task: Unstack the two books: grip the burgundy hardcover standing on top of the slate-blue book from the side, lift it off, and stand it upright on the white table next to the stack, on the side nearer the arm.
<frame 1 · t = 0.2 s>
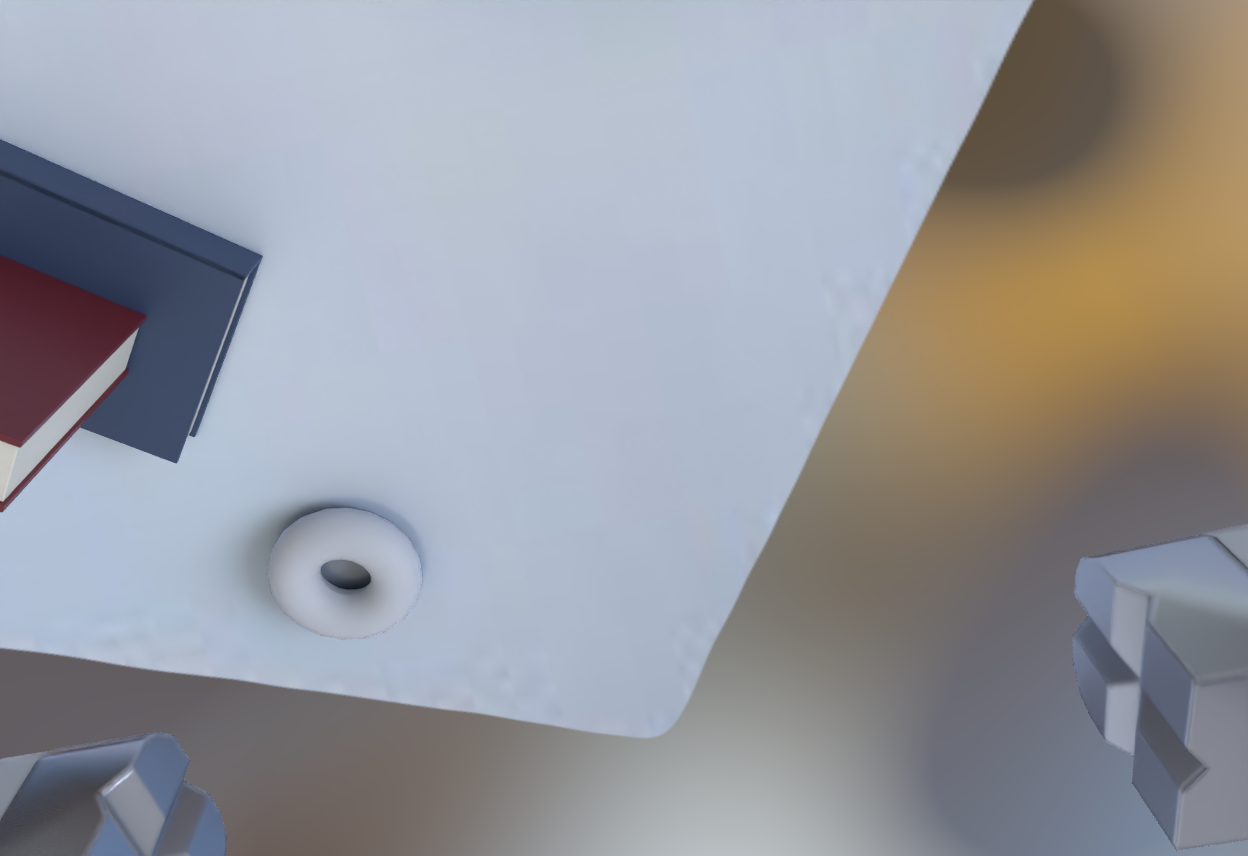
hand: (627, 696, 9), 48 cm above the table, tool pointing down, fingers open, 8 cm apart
burgundy book: (43, 307, 53), point 3 cm above the table, touching slate book
slate book: (71, 284, 56), on the table, touching burgundy book
donut: (351, 558, 66), on the table
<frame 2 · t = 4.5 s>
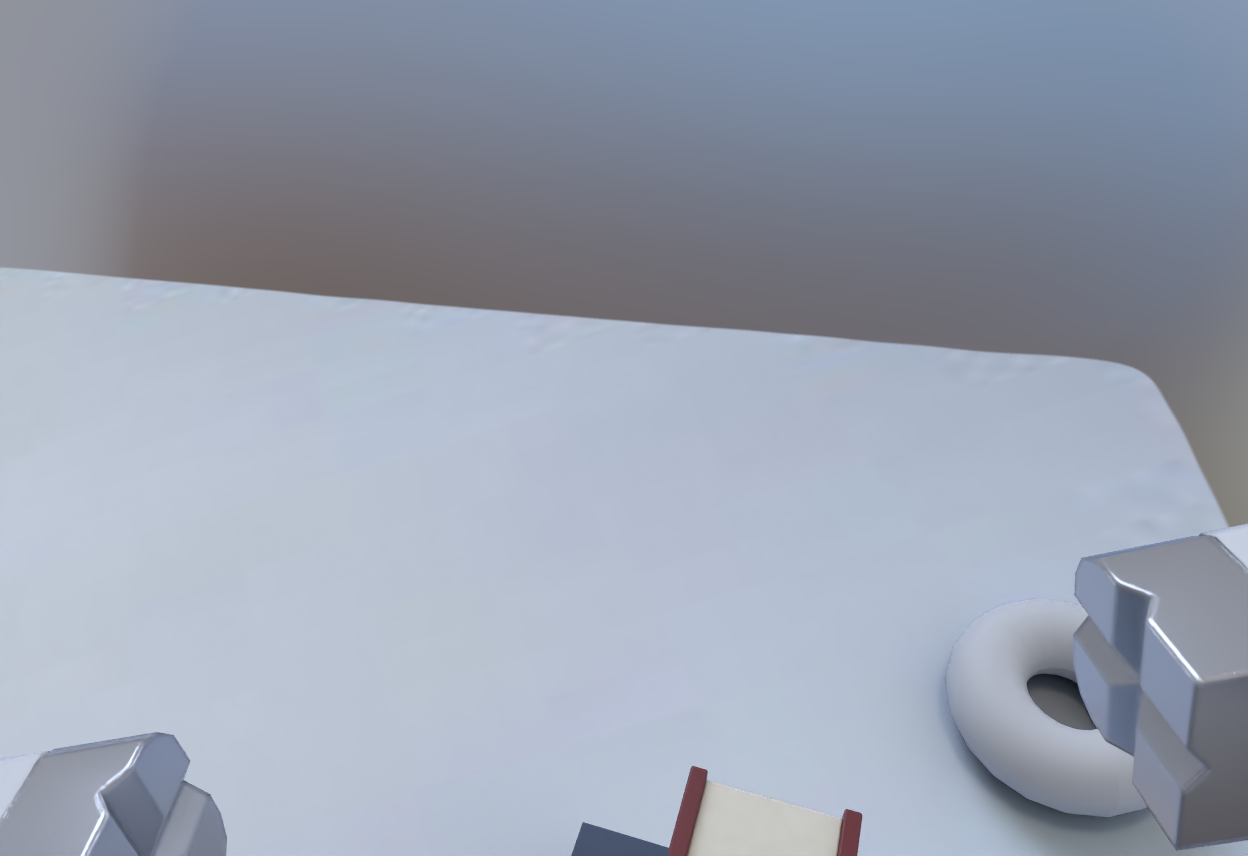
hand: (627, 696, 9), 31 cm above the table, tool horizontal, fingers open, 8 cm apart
donut: (1052, 723, 43), on the table
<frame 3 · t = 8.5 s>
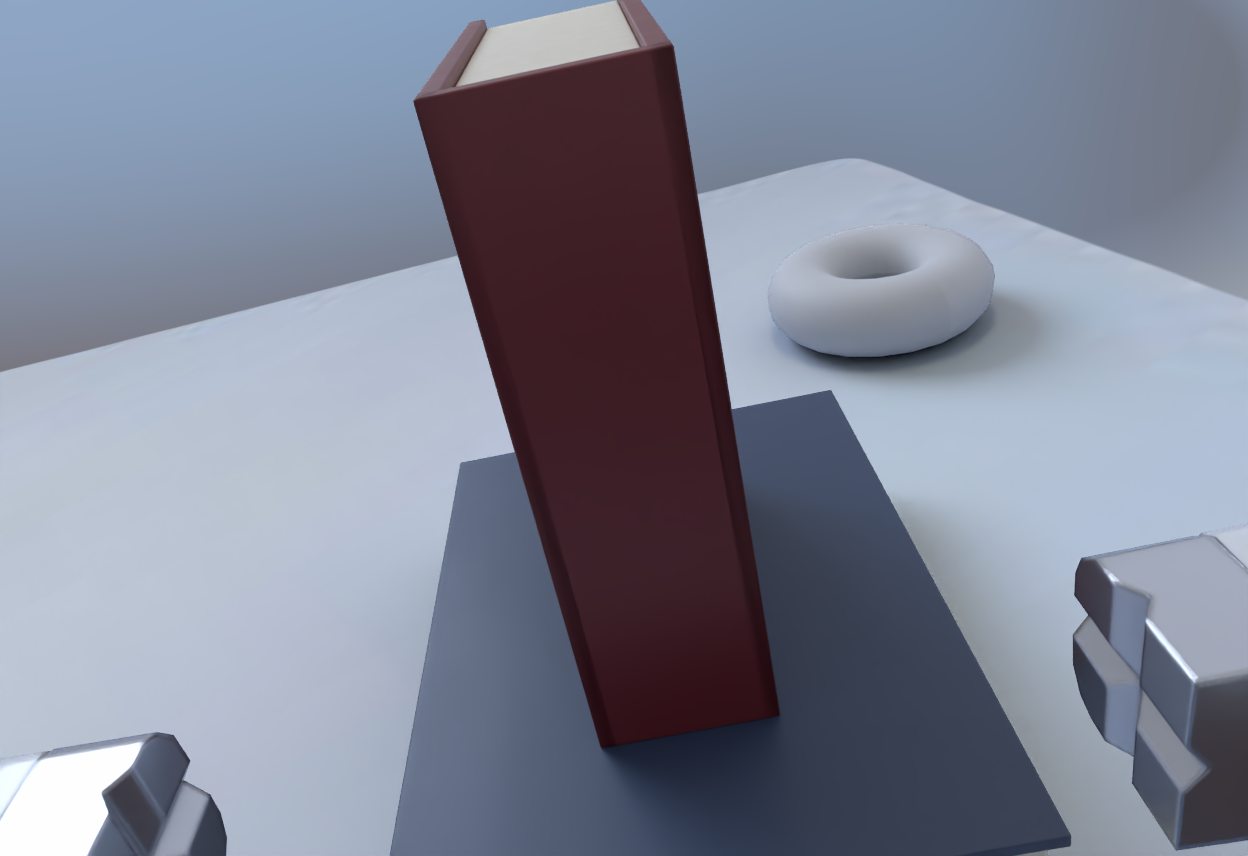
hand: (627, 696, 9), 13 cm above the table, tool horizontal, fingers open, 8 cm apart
burgundy book: (668, 589, 26), point 3 cm above the table, touching slate book
slate book: (689, 686, 27), on the table, touching burgundy book
donut: (880, 324, 45), on the table
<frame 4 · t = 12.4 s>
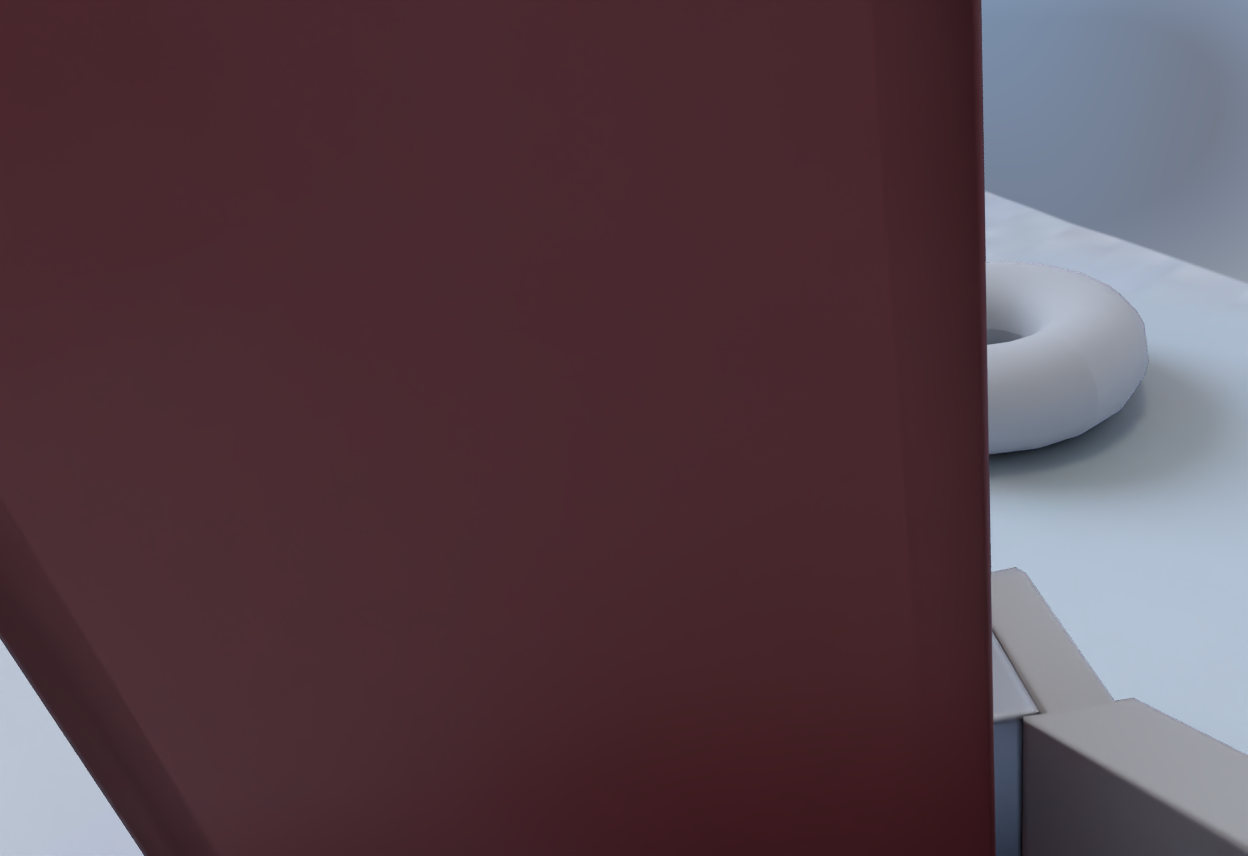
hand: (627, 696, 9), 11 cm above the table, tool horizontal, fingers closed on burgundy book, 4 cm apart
donut: (980, 399, 33), on the table
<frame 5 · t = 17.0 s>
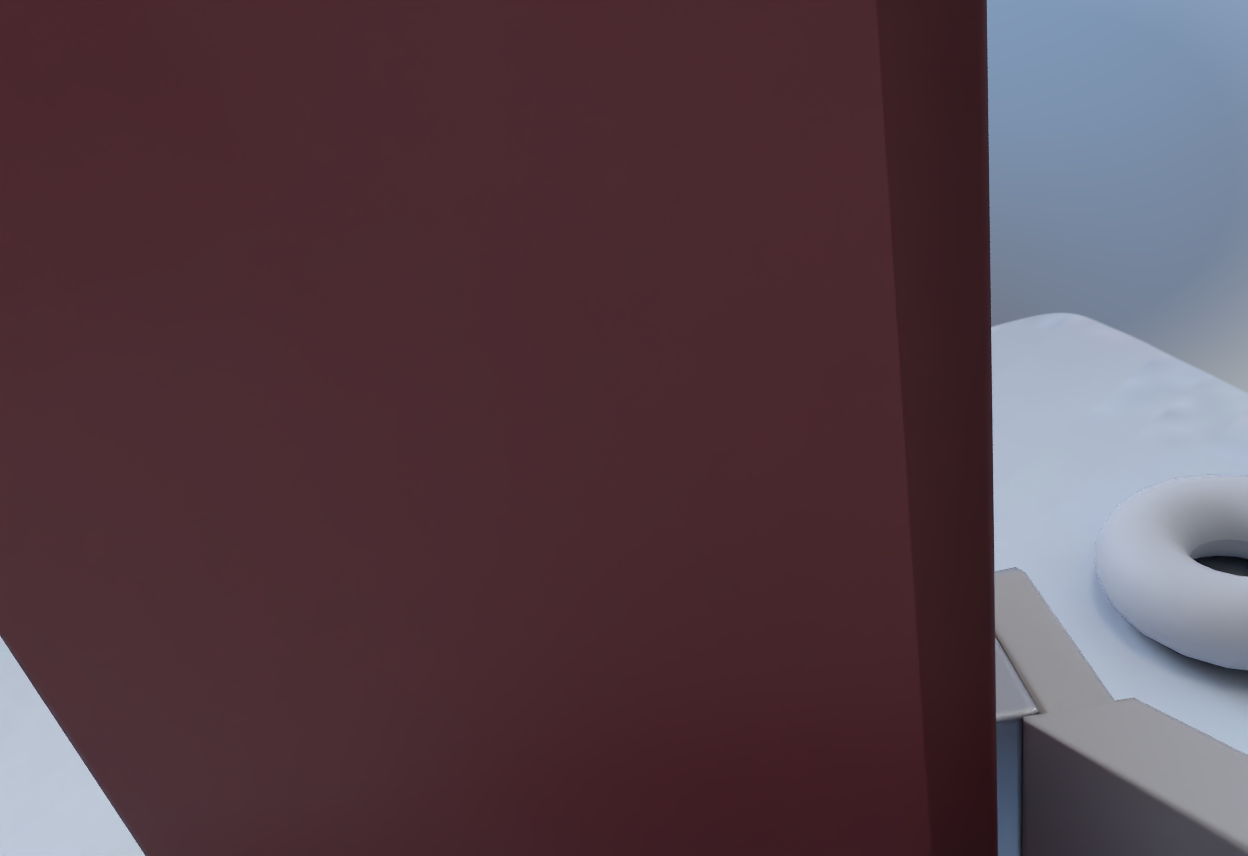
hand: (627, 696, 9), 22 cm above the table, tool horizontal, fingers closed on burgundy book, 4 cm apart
donut: (1233, 603, 38), on the table
when the fingers open (7 cm above the table, at t = 21.8 s): burgundy book stays where it is, on the table.
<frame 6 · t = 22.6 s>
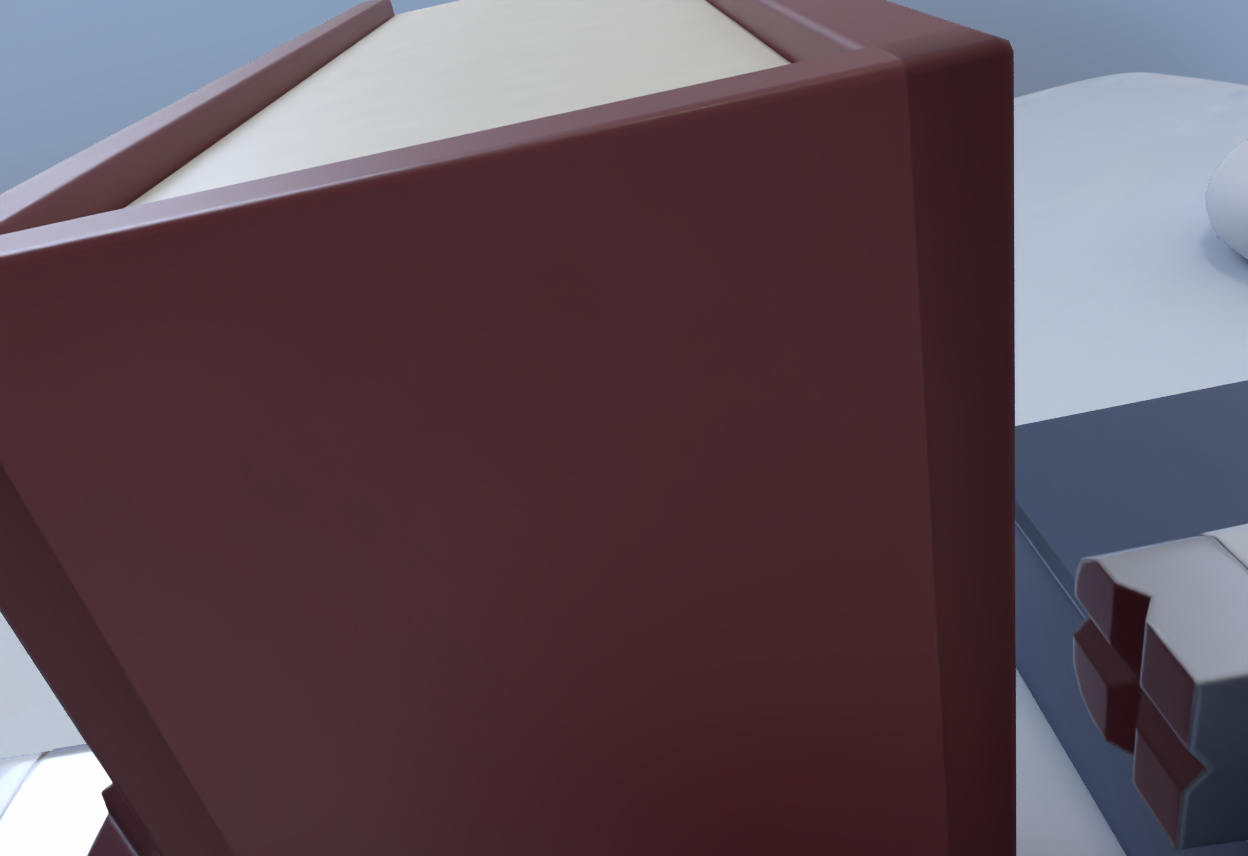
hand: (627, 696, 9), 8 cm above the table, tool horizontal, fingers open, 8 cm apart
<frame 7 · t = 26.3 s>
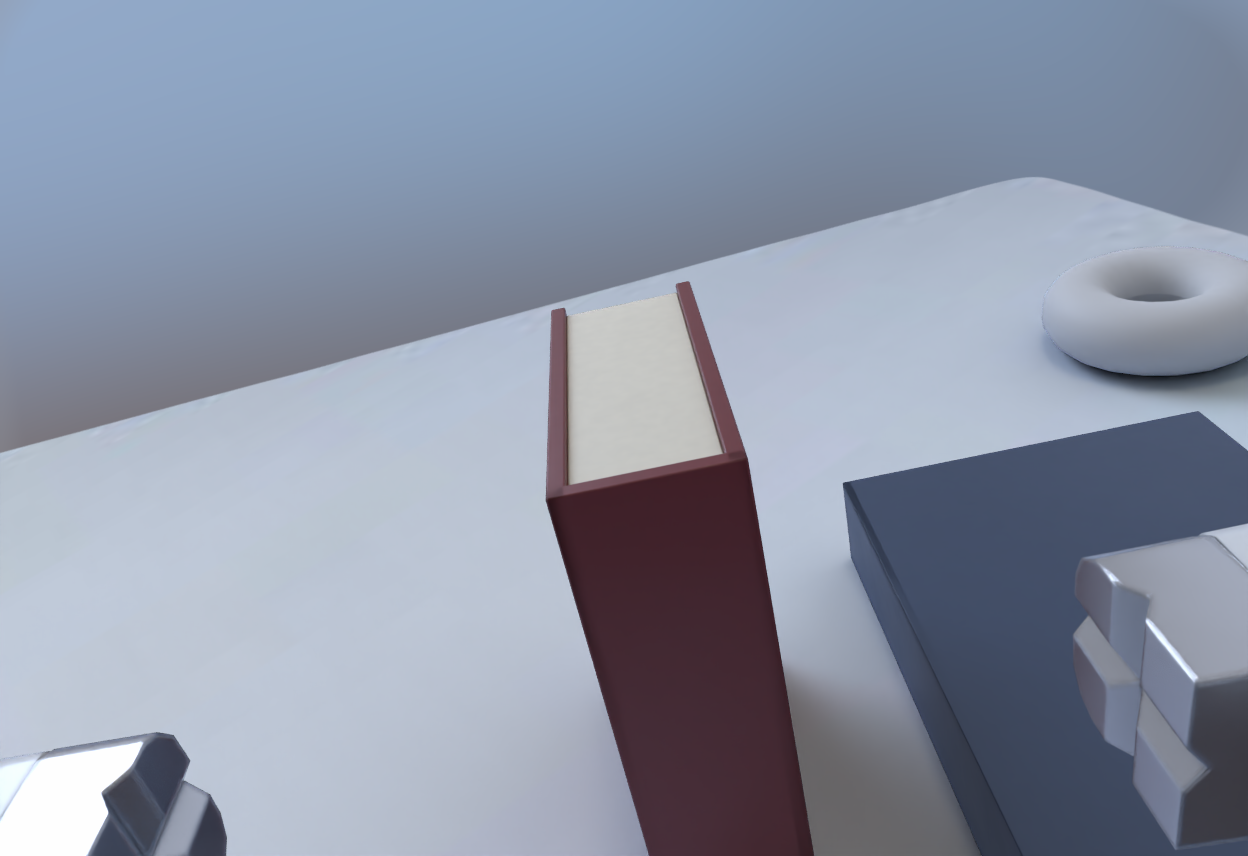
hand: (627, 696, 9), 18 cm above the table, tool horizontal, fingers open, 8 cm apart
burgundy book: (720, 774, 30), on the table
slate book: (1142, 692, 29), on the table
donut: (1153, 343, 47), on the table
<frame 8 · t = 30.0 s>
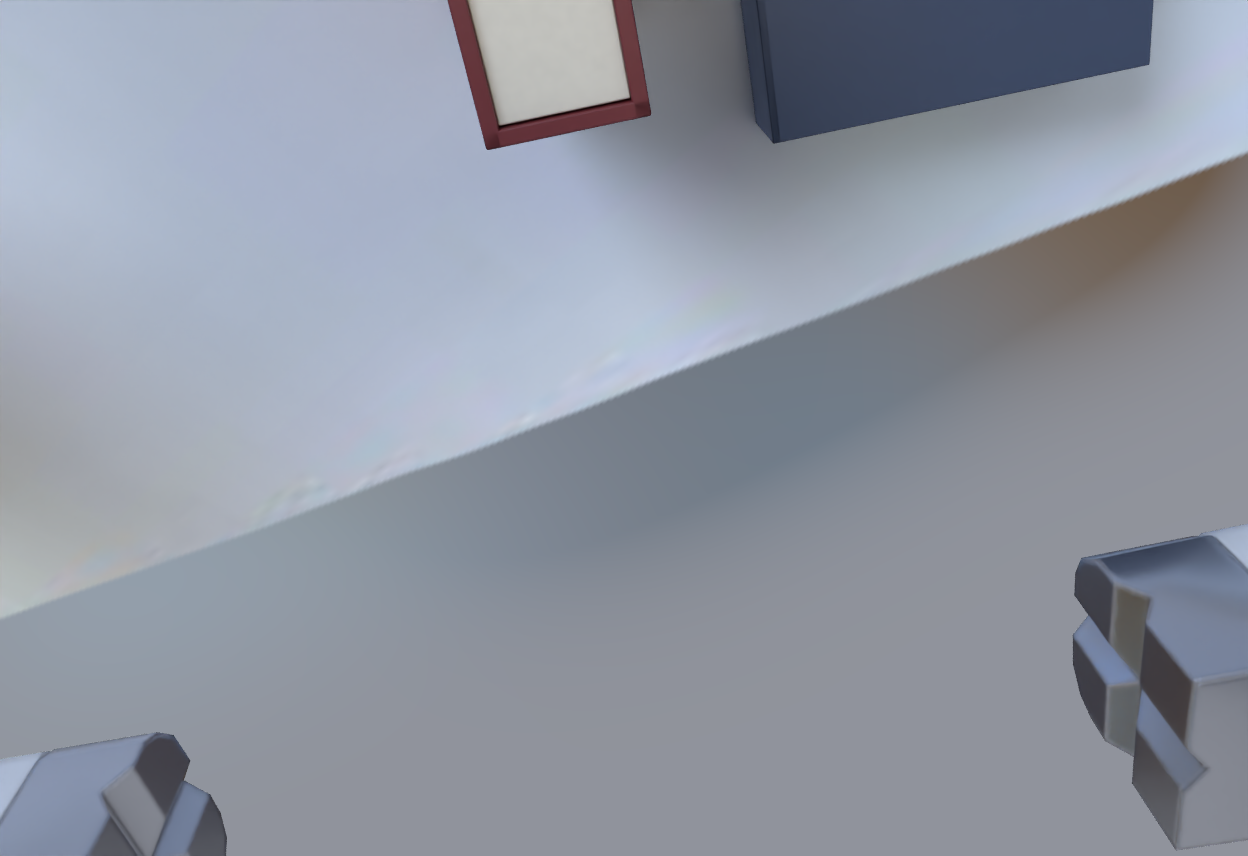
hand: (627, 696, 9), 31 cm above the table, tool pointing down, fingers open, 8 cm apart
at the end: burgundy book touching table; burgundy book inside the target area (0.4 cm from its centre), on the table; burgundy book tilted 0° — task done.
